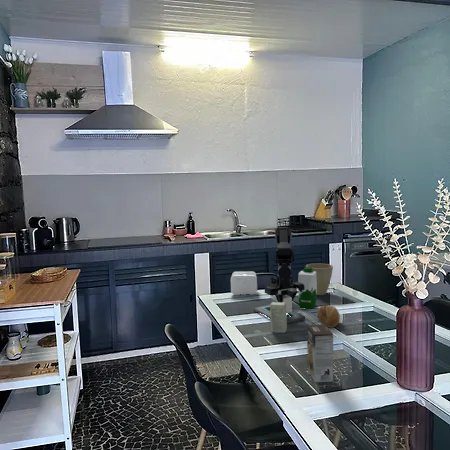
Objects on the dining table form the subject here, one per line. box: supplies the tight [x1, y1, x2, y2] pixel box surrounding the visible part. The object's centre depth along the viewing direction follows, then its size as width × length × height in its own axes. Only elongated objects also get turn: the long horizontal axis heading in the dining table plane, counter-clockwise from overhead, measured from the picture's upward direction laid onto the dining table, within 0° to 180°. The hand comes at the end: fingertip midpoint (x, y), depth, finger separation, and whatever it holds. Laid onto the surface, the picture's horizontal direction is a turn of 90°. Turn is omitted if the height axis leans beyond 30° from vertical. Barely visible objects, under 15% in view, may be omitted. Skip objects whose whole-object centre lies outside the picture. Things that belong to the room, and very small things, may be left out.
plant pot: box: [305, 263, 334, 296], centre depth 236 cm, size 15×15×16 cm
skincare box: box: [269, 301, 288, 333], centre depth 180 cm, size 6×4×12 cm
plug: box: [282, 295, 293, 313], centre depth 195 cm, size 4×4×8 cm
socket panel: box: [253, 304, 306, 324], centre depth 201 cm, size 14×24×2 cm, turn 24°
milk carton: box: [297, 266, 318, 310], centre depth 211 cm, size 9×9×20 cm
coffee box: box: [306, 323, 334, 383], centre depth 137 cm, size 9×6×16 cm
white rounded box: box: [230, 271, 258, 296], centre depth 242 cm, size 15×11×12 cm
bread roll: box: [317, 305, 341, 328], centre depth 187 cm, size 10×15×8 cm, turn 174°
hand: (285, 306), depth 195 cm, fingers closed on plug, 4 cm apart
